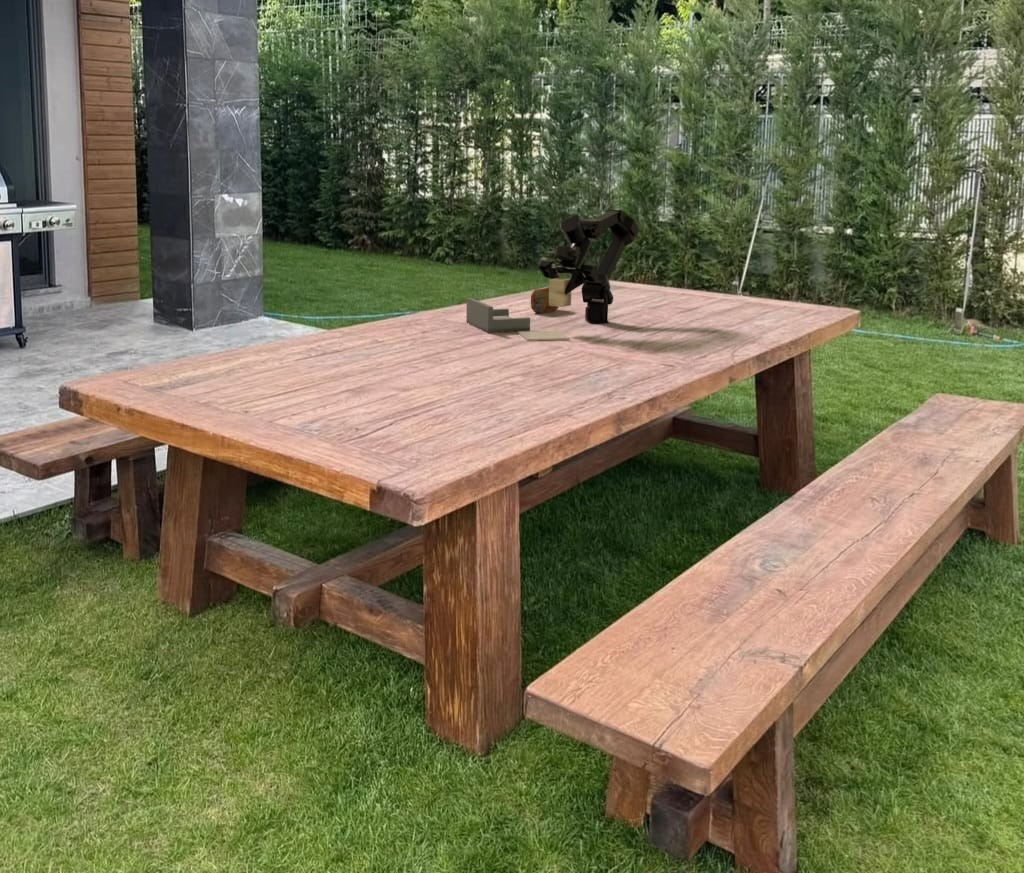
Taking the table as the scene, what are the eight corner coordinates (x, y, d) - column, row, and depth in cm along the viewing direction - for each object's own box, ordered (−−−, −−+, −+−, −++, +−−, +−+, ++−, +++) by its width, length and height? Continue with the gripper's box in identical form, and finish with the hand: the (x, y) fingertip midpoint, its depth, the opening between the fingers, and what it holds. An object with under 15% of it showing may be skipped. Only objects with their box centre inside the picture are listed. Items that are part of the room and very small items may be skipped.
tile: (558, 332, 343) (558, 330, 342) (569, 340, 330) (569, 338, 330) (517, 333, 340) (517, 331, 340) (527, 341, 328) (527, 339, 327)
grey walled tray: (506, 320, 361) (507, 296, 359) (529, 330, 344) (530, 305, 342) (466, 322, 356) (466, 297, 354) (487, 333, 339) (488, 307, 336)
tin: (536, 314, 374) (536, 289, 372) (528, 313, 376) (529, 289, 374) (561, 309, 386) (562, 285, 384) (554, 308, 388) (554, 284, 385)
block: (556, 303, 344) (557, 277, 342) (570, 305, 341) (571, 279, 339) (548, 305, 340) (549, 279, 338) (562, 307, 337) (563, 280, 335)
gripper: (542, 234, 343) (522, 273, 337) (595, 238, 333) (575, 278, 327) (554, 257, 351) (535, 296, 345) (606, 262, 342) (587, 302, 336)
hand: (557, 292), depth 338 cm, fingers closed on block, 5 cm apart
